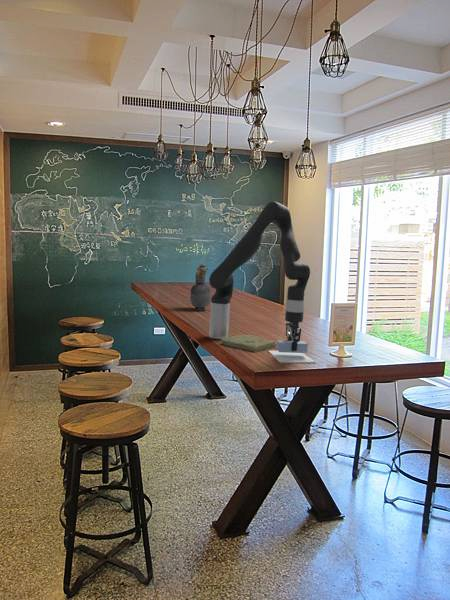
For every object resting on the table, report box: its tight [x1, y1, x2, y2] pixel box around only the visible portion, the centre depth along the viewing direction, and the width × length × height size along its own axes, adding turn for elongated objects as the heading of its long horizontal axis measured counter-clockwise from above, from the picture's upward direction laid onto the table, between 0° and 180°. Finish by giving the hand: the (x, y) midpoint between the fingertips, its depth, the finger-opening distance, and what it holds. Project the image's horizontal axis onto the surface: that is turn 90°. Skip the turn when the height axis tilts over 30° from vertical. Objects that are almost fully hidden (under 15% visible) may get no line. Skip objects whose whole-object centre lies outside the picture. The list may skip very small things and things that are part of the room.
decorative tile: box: [220, 334, 277, 353], centre depth 245 cm, size 19×20×4 cm
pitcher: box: [189, 263, 212, 312], centre depth 343 cm, size 11×19×30 cm, turn 20°
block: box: [276, 339, 308, 354], centre depth 226 cm, size 12×6×4 cm, turn 95°
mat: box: [267, 349, 316, 364], centre depth 226 cm, size 19×15×1 cm
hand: (291, 348), depth 226 cm, fingers closed on block, 5 cm apart
